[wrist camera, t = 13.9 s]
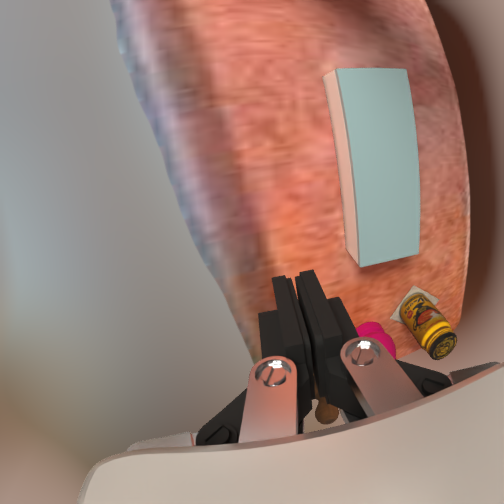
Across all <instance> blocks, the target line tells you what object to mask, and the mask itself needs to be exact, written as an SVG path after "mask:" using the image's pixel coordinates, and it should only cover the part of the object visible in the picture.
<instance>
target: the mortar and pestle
mask: <svg viewBox="0 0 504 504" xmlns="http://www.w3.org/2000/svg"><path fill="white" fill-rule="evenodd" d="M313 376H314V374H313ZM314 387H315V399H317V400H318V401H319V403H318V406H317V408H316V411H315V417H316V419H317V420H318V422H320V423H321V424H330V423H333V422H334V421H335V420H336V419H337V418H338V415H339V410H338V408H337V407H335V406H333V405H330V404H327V403H326V399H325V397H322V398H320V397H319V393H318V389H317V386H316V382H315V378H314Z"/></svg>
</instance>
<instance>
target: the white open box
mask: <svg viewBox="0 0 504 504" xmlns="http://www.w3.org/2000/svg"><path fill="white" fill-rule="evenodd" d="M322 78H323V82H324V87H325V92H326V97H327V102H328V108H329V113H330V119H331V125H332V131H333V137H334V144H335V150H336V157H337V165H338V173H339V181H340V189H341V198H342V208H343V219H344V231H345V245H346V250H347V251H348V252H349V253H350V255H351V256H352V257H353V259H354V260H355V261H356V263H357V264H358V252H357V232H356V217H355V204H354V193H353V183H352V174H351V165H350V157H349V149H348V142H347V135H346V129H345V123H344V117H343V111H342V105H341V100H340V94H339V89H338V84H337V79H336V75H335V70H334V71H332V72H330V73H328V74H326V75H324V76H323V77H322Z"/></svg>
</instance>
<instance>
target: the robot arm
mask: <svg viewBox="0 0 504 504" xmlns="http://www.w3.org/2000/svg"><path fill="white" fill-rule="evenodd" d="M295 281H296V288H297V295H298V299H297V296H296V292H295V289H294V286H293V283H292V279H291V278H287V279H286V277H285V275H283V276H278V277H273V278H272V283H273V288H274V293H275V298H276V304H277V309H278V310H273V311H267V312H262V313H258V317H259V328H260V339H261V350H262V360H260V361H259V362H257V363H256V364H255V365H254V366H253V367H252V369H251V372H250V375H249V381H248V388H246V389H245V390H244V391H243V392H242V393H241V394H240V395H239V396H238V397H236V398H235V399H234V400H233V401H232V402H231V403H230V404H229V405H227V406H226V408H224V409H223V410H222V411H221V412H219V413H218V414H217V415H216V416H215V417H214V418H212V419H211V420H210V421H209V422H208V423H206V425H204V426H203V427H202V428H201V429H200V431H198V432H197V433H193V434H191V433H190V432H185V433H180V434H176V435H171V436H166V437H161V438H156V439H151V440H144V441H139V442H136V443H134V444H132V445H131V446H130V447H129V448H128V449H127V451H126V452H124V453H120V454H116V455H113V456H110V457H108V458H106V459H103V460H102V461H100V462H98V463H97V464H95V466H94V467H93V468H92V469H91V470H90V472H89V473H88V475H87V477H86V479H85V481H84V484H83V486H82V488H81V491H80V494H79V497H78V500H77V504H504V362H502V363H498V362H489V363H486V364H482V365H478V366H474V367H470V368H466V369H461V370H457V371H452V372H450V373H449V375H444V374H442V373H440V372H436V371H433V370H430V369H426V368H422V367H419V366H415V365H413V364H409V363H406V362H402V361H399V360H396V359H394V358H393V357H392V356H391V354H390V353H389V352H388V351H387V349H386V348H385V347H384V346H383V344H382V343H380V342H379V341H378V340H376V339H374V338H370V337H359V335H358V333H357V331H356V329H355V327H354V325H353V323H352V321H351V319H350V317H349V315H348V313H347V311H346V309H345V307H344V305H343V303H342V301H341V299H340V298H339V297H335V298H330V299H326V296H325V294H324V292H323V290H322V288H321V285H320V283H319V281H318V279H317V277H316V274H315V272H314V270H308V271H303V272H300V276H297V277H295ZM313 374H314V376H313ZM314 378H315V382H316V386H317V389H318V393H319V397H320V398H322V397H325V399H326V403H327V404H330V405H333V406H335V407H337V408H339V411H340V414H341V416H342V418H343V420H344V422H345V424H344V425H340V426H336V427H332V428H328V429H323V430H318V431H314V432H309V433H304V418H305V416H306V415H307V414H308V413H309V412H310V411H311V409H312V399H315V387H314Z"/></svg>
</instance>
